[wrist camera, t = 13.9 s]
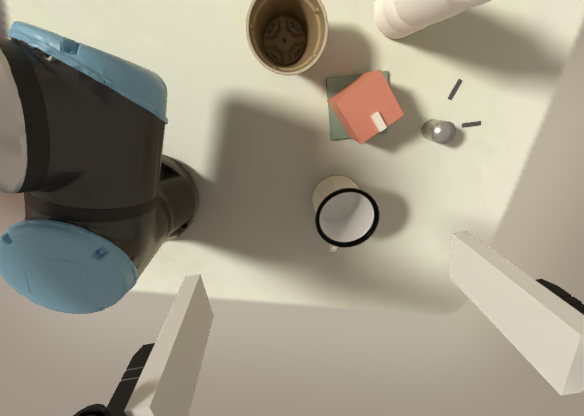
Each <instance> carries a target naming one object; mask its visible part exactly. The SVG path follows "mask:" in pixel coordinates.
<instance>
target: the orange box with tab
mask: <svg viewBox="0 0 584 416" xmlns="http://www.w3.org/2000/svg"><path fill="white" fill-rule="evenodd" d="M327 101H328V103H329V105H330V106H331V108H332V110H333V111H334V113H335V114H336V116H337V118H338V119H339V121H340V123H341V124H342V126H343V128H344V129H345V131H346V132H347V134H348V136H349V137H350V138H352V139H354V140H355V141H357V142H358V143H360V144H363V143H364V142H366V141H367V140H368V139H370V138H371V137H373V136H374V135H376V134H377V133H379V132H381V131H383V130H384V129H386V128H387V126H389V125H390V124H392V123H393V122H395V121H396V120H398V119H399V118H401V117H402V116H403V115H404V114H403V112H402V110H401V108H400V106H399V104H398V102H397V100H396V98H395V96H394V94H393V92H392V90H391V88H390V86H389V85H388V83H387V81H386V79H385V77H384V75H383V73H382V71H381V70H377V71H372V72H367V73H364V74H362V75H361V76H360V77H358V78H357V79H356V80H354V81H353V82H352V83H350V84H349V85H347V86H346V87H345V88H343V89H342V90H341V91H339V92H338V93H337V94H335V95H334V96H333V97H331V98H330V99H328V100H327Z"/></svg>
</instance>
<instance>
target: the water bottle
mask: <svg viewBox="0 0 584 416" xmlns="http://www.w3.org/2000/svg"><path fill="white" fill-rule="evenodd" d="M489 1H490V0H376V1H375V5H374V20H375V23H376V26H377V28H378V29H379V30H380V32H381V33H382V34H384V35H385V36H387V37H389V38H394V39H397V38H403V37H406V36H408V35H410V34H412V33H414V32H416V31H419V30H422V29H424V28H426V27H427V26H429V25H431V24H435V23H438V22H440V21H443V20H446V19H448V18H450V17H453V16H455V15H457V14H459V13H461V12H463V11H465V10H467V9H469V8H471V7H474V6H478V5H482V4H484V3H487V2H489Z"/></svg>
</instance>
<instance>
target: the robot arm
mask: <svg viewBox="0 0 584 416" xmlns="http://www.w3.org/2000/svg"><path fill="white" fill-rule="evenodd" d="M8 34H9V37H10V38H11V40H8V39H3V38H0V191H1V192H3V193H7V194H11V193H23V192H24V200H25V220H24V221H21V222H19V223H16V224H14V225H12V226H11V227H9V229H8V230H7V231H6V233H5V234H4V235H2V237H0V274H1V275H2V277H3V278H4V279H5V280H6V282H7V283H8V284H9V285H10V286H11V287H12V288H14V289H15V290H16V291H17V292H18V293H19V294H21V295H23V296H25V297H27V298H28V299H29V300H30V301H32V302H34V303H36V304H38V305H40V306H43V307H45V308H48V309H51V310H55V311H59V312H65V313H72V314H73V313H74V314H86V313H93V312H98V311H101V310H104V309H105V308H108V307H110V306H112V305H114V304H116V303H117V302H118V301H119V300H120V299H121V298H122V297H123V296H124V295H125V294H126V293H127V292H128V291H129V290H130V289H131V288H132V287H133V286H134V285H135V284H136V281H137V279H138V278H139V276H140V275H141V273H142V272H143V271H144V269H145V268H146V266H147V265H148V264H149V262H150V261H151V259H152V258H153V257H154V255H155V254H156V252H157V251H158V250H159V248H160V247H161V245H162V244H163V243H165V242H167V241H169V240H171V239H174V238H176V237H177V236H179V235H180V234H182V233H183V232H184V231H185V230H186V229H187V228H188V227H189V226H190V224H191V223H192V221H193V219H194V218H195V216H196V213H197V210H198V204H199V197H198V192H197V188H196V185H195V183H194V181H193V179H192V178H191V176H190V175H189V173H188V172H187V171H186V170H185V169H184V168H183V167H182V166H181V165H180V164H178V163H177V162H176V161H174V160H172V159H171V158H169V157H167V156H164V155H162V150H163V140H164V130H165V124H168V119H167V117H166V109H167V88H166V85H165V83H164V82H163V80H162V79H161V78H160V77H159V76H158V75H157V74H156V73H154V72H152V71H150V70H148V69H146V68H143V67H141V66H139V65H136V64H134V63H131V62H129V61H126V60H124V59H121V58H119V57H116V56H114V55H111V54H108V53H106V52H103V51H101V50H98V49H95V48H93V47H90V46H87V45H85V44H82V43H78V42H75V41H74V40H71V39H68V38H65V37H63V36H60V35H58V34H55V33H53V32H50V31H47V30H44V29H42V28H39V27H36V26H33V25H30V24H27V23H24V22H20V21H16V22H14V23H13V24H12V27H11V29H10V30H9V31H8ZM449 278H450V279H451V280H452V281H453V282H454V283H455V284H456V285H457V286H458V287H459V289H460V290H461V291H462V292H463V293H464V294H465V295H466V296H467V297H468V298H469V299H470V300H471V301H472V302H473V303H474V304H475V305H476V306H477V307H478V309H479V310H480V311H482V313H483V314H484V315H485V316H486V317H487V318H488V319H489V320H490V321H491V322H492V323H493V324H494V325H495V326H496V327H497V328H498V330H499V331H501V333H502V334H503V335H504V336H505V337H506V338H507V339H508V340H509V341H510V342H511V343H512V344H513V345H514V346H515V347H516V348H517V349H518V351H519V352H520V353H521V354H522V355H523V356H524V357H525V358H526V359H527V360H528V361H529V362H530V363H531V364H532V365H533V366H534V367H535V368H536V369H537V370H538V372H539V373H540V374H541V375H542V376H543V377H544V378H545V379H546V380H547V381H548V382H549V383H550V384H551V385H552V386H553V387H554V389H555V390H556V391H557V392H558V393H559V394H560V395H567V394H572V393H578V392H583V391H584V305H583V304H582V302H581V301H579V300H577V299H576V298H575V297H571V295H570V294H569V293H567V292H566V291H564V290H563V289H562V288H560V287H558V286H557V285H554V284H552V283H550V282H548V281H545V280H543V279H538V280H534V279H533V278H531V277H530V276H528V275H527V274H526V273H524V272H523V271H522V270H520V269H519V268H518V267H516V266H515V265H513V264H512V263H511V262H509V261H508V260H507V259H505V258H504V257H502V256H501V255H500V254H498V253H497V252H495V251H494V250H493V249H491V248H490V247H488V246H487V245H486V244H484V243H483V242H482V241H480V240H479V239H477V238H476V237H475V236H473V235H472V234H470V233H469V232H468V231H464V232H458V233H452V243H451V255H450V267H449ZM212 320H213V312H212V309H211V306H210V303H209V300H208V297H207V294H206V291H205V288H204V284H203V281H202V278H201V275H200V274H199V275H193V276H187V277H185V279H184V281H183V283H182V285H181V287H180V290H179V292H178V294H177V296H176V298H175V301H174V303H173V305H172V307H171V310H170V312H169V314H168V316H167V318H166V320H165V323H164V325H163V327H162V329H161V331H160V334H159V336H158V338H157V340H156V342H155V343H153V344H147V345H143V346H142V347H141V348H140V349H139V351H138V352H137V353H136V354H135V355H134V356H133V357H132V359H131V361H130V364H129V365H128V367H127V371H126V372H125V373H124V375H123V377H122V379H121V382H120V383H119V385H118V387H117V388H116V390H115V393H114V394H113V397H112V398H111V400H110V402H109V404H108V406H107V408H106V407H105V406H104V405H102V404H94V405H91V406H87V407H86V408H84V409H82V410H80V411H79V412H77V413H76V414H75V415H74V416H188V415H189V411H190V407H191V403H192V399H193V396H194V392H195V388H196V384H197V380H198V376H199V371H200V368H201V364H202V360H203V356H204V352H205V348H206V344H207V340H208V336H209V332H210V328H211V324H212Z"/></svg>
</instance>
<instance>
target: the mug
mask: <svg viewBox="0 0 584 416" xmlns="http://www.w3.org/2000/svg"><path fill="white" fill-rule="evenodd" d="M312 204H313V207H314V210H315V213H316V215H315V224H316V228H317V231H318V233H319V234H320V236H321V237H322V238H323V239H324V240H325V241H326V242H328V245H329V248H330V250H331V251H332V252H336V251H337V248H338V247H352V246H356V245H359V244H361V243H363V242H364V241H365V240H367V239H368V238H369V237H370V236H371V235H372V234H373V233H374V231H375V230H376V228H377V225H378V222H379V209H378V206H377V204H376V202H375V200H374V199H373V198H372V196H371V195H369V194H368V193H367V192H365V191H363V190H361V189H359V187H358V186H357V185H356V184H355V183H354V182H353V181H352V180H351V179H349V178H347V177H344V176H331V177H328V178H326V179H324V180H323V181H321V182H320V183H319V184H318V185H317V187H316V188H315V190H314V193H313V196H312Z"/></svg>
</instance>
